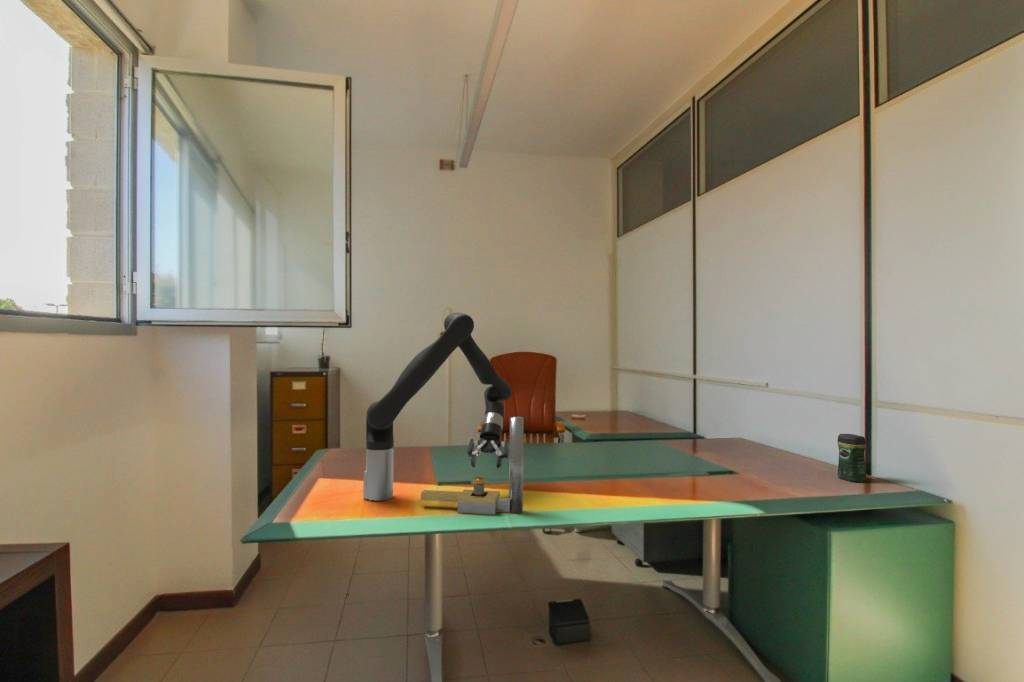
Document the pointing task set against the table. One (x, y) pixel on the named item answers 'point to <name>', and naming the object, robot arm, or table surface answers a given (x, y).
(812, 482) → the table surface
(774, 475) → the table surface
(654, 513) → the table surface
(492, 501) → the grey l-shaped piece
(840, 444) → the coffee jar
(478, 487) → the wedge pin
